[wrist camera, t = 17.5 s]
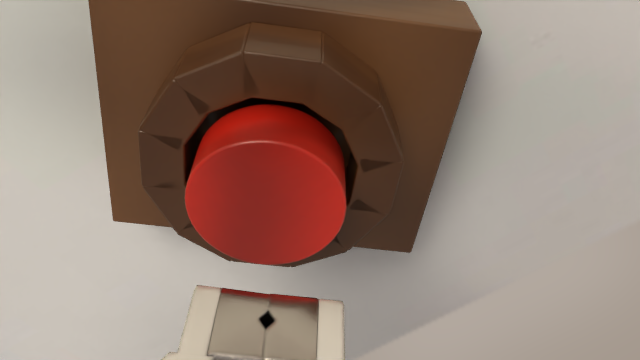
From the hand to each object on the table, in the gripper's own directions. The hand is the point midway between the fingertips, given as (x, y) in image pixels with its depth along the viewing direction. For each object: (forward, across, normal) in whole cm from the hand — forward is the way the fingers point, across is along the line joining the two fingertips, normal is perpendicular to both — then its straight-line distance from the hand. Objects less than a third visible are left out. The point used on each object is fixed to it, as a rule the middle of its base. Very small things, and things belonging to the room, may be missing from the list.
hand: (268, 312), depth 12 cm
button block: (+8, 0, 0) cm, 9 cm away
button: (+5, 0, 0) cm, 5 cm away
